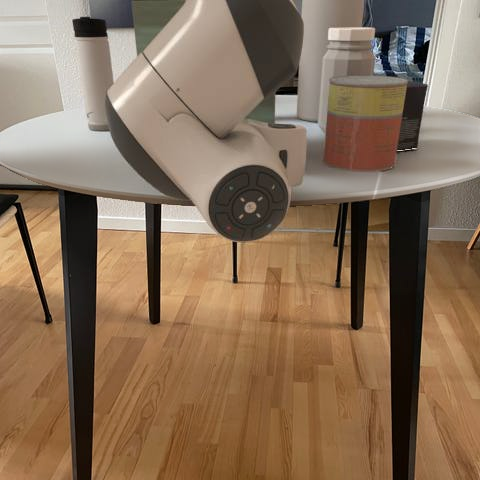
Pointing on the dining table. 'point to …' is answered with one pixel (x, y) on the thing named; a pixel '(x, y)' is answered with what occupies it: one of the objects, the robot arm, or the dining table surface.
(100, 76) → the travel mug
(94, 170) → the dining table surface
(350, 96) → the canned food
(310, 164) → the dining table surface
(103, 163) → the dining table surface
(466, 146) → the dining table surface
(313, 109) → the cylinder vase
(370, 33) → the jar
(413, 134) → the small box
